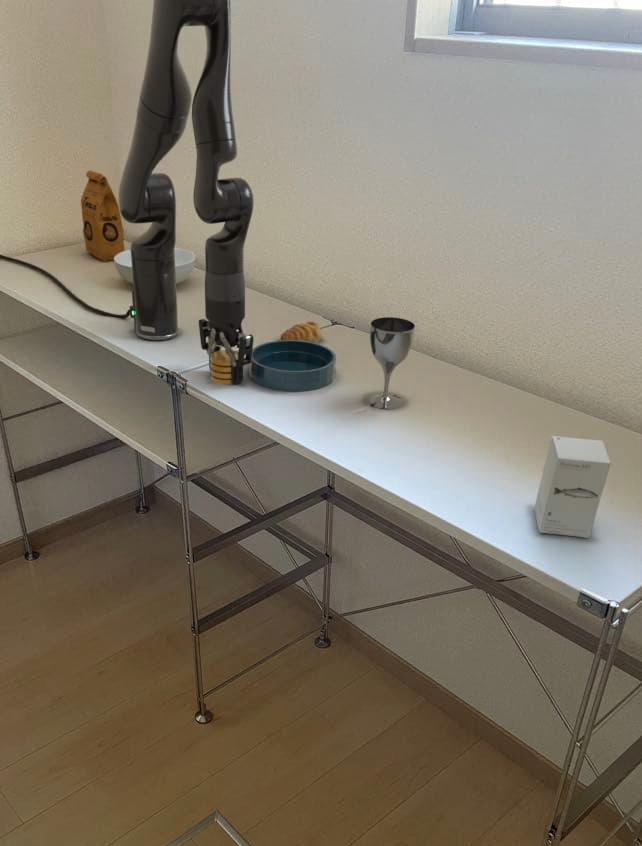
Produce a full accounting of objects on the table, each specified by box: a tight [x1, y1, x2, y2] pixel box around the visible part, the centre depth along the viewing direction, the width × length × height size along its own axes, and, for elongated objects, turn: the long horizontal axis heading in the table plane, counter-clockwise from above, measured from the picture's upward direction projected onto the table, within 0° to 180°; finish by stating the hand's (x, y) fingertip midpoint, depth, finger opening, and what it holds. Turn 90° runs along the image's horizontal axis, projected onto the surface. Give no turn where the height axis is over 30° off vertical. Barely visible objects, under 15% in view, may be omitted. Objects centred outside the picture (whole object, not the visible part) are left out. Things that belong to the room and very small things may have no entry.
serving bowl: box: [113, 247, 196, 285], centre depth 215 cm, size 21×21×7 cm
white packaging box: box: [533, 435, 612, 539], centre depth 119 cm, size 7×7×13 cm
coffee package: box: [80, 170, 125, 262], centre depth 231 cm, size 10×12×22 cm
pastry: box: [280, 321, 324, 343], centre depth 182 cm, size 9×7×4 cm
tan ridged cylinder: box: [210, 349, 238, 385], centre depth 163 cm, size 6×6×5 cm
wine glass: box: [369, 316, 416, 410], centre depth 154 cm, size 8×8×15 cm
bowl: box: [248, 339, 337, 393], centre depth 165 cm, size 17×17×4 cm
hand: (226, 377), depth 164 cm, fingers closed on tan ridged cylinder, 6 cm apart
